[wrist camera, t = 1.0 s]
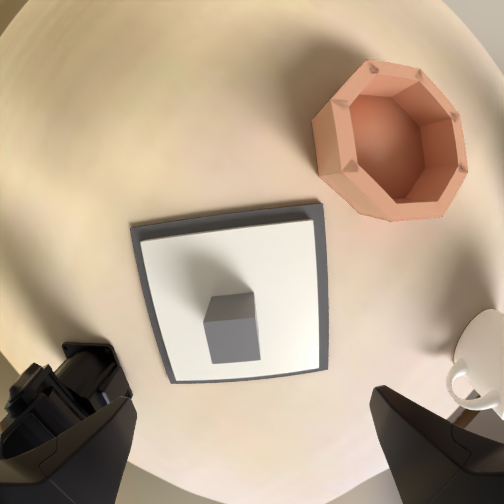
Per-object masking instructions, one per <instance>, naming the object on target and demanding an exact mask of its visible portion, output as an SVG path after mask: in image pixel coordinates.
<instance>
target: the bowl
mask: <svg viewBox="0 0 504 504" xmlns="http://www.w3.org/2000/svg"><path fill="white" fill-rule="evenodd" d="M311 122H312V129H313V136H314V143H315V150H316V158H317V166H318V174H319V177H320V178H321V179H322V180H323V181H325V182H326V183H327V184H328V185H329V186H330V187H331V188H332V189H334V190H335V191H336V192H337V193H338V194H339V195H340V196H341V197H342V198H343V199H345V200H346V201H347V202H348V203H349V204H350V205H351V206H352V207H353V208H354V209H355V210H356V211H357V212H358V213H359V214H362V215H366V216H370V217H375V218H379V219H383V220H386V221H390V222H393V221H403V220H414V219H425V218H436V217H443V215H444V214H445V212H446V211H447V209H448V207H449V206H450V204H451V202H452V201H453V199H454V197H455V195H456V194H457V192H458V190H459V188H460V187H461V185H462V183H463V181H464V179H465V177H466V175H467V173H468V166H467V157H466V150H465V143H464V136H463V130H462V125H461V120H460V115H459V113H458V112H457V111H456V109H455V108H454V107H453V106H452V104H451V103H450V102H449V101H448V99H447V98H446V97H445V96H444V95H443V93H442V92H441V91H440V90H439V89H438V88H437V87H436V85H435V84H434V83H433V82H432V81H431V80H430V79H429V78H428V77H427V76H426V75H425V73H424V72H423V71H422V70H421V69H418V68H414V67H409V66H404V65H399V64H393V63H388V62H381V61H374V60H366V61H365V62H364V63H363V64H362V65H361V66H360V67H359V68H358V69H357V70H356V71H355V72H354V73H353V74H352V75H351V76H350V77H349V78H348V79H347V81H346V82H345V83H344V84H343V85H342V86H341V87H340V89H339V90H338V91H337V92H336V93H335V94H334V95H333V96H332V98H331V99H330V100H329V101H328V102H327V103H326V104H325V106H324V107H323V108H322V109H321V110H320V111H319V112H318V114H317V115H316V116H315V117H314V118H313V119H312V120H311Z"/></svg>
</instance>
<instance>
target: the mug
mask: <svg viewBox="0 0 504 504" xmlns="http://www.w3.org/2000/svg"><path fill="white" fill-rule="evenodd" d="M458 376H462V377H463V378H464V379H465V380H466V381H467V382H468V383H469V384H470V385H471V386H472V387H473V388H474V389H475V390H476V391H477V392H478V393H479V394H480V395H481V397H480V398H478V399H474V400H464V399H461V398H458V397H457V396H456V395H455V394H454V393H453V390H452V383H453V380H454V379H455V378H456V377H458ZM446 386H447V389H448V392H449V394H450V395H451V397H452V398H453V400H454V401H455V402H456V403H458V404H459V405H460V406H462V407H464V408H467V409H470V410H484V409H488V408H493V410H494V411H495V412H496V413H497V414H498V415H499V416H500V417H501V418H502V420H504V314H503V313H501V312H499V311H497V310H494V309H488V310H485V311H483V312H481V313H479V314H478V315H477V316H476V317H475V318H474V319H473V320H472V321H471V322H470V323H469V324H468V326H467V327H466V329H465V330H464V332H463V333H462V335H461V337H460V339H459V341H458V344H457V347H456V350H455V355H454V365H453V366H452V367H451V369H450V370H449V372H448V374H447V378H446Z"/></svg>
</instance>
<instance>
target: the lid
mask: <svg viewBox="0 0 504 504" xmlns="http://www.w3.org/2000/svg"><path fill="white" fill-rule="evenodd" d="M140 243H141V249H142V254H143V259H144V264H145V269H146V273H147V278H148V282H149V287H150V291H151V295H152V299H153V303H154V307H155V311H156V315H157V319H158V323H159V326H160V330H161V333H162V337H163V340H164V344H165V347H166V350H167V354H168V357H169V360H170V363H171V366H172V369H173V372H174V375H175V378H176V381H192V380H219V379H234V378H247V377H257V376H267V375H275V374H283V373H291V372H297V371H304V370H310V369H316V368H319V317H318V288H317V268H316V251H315V237H314V225H313V220H311V219H307V220H297V221H288V222H279V223H270V224H262V225H253V226H245V227H237V228H229V229H221V230H213V231H205V232H198V233H190V234H183V235H176V236H169V237H162V238H155V239H148V240H143V241H141V242H140Z"/></svg>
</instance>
